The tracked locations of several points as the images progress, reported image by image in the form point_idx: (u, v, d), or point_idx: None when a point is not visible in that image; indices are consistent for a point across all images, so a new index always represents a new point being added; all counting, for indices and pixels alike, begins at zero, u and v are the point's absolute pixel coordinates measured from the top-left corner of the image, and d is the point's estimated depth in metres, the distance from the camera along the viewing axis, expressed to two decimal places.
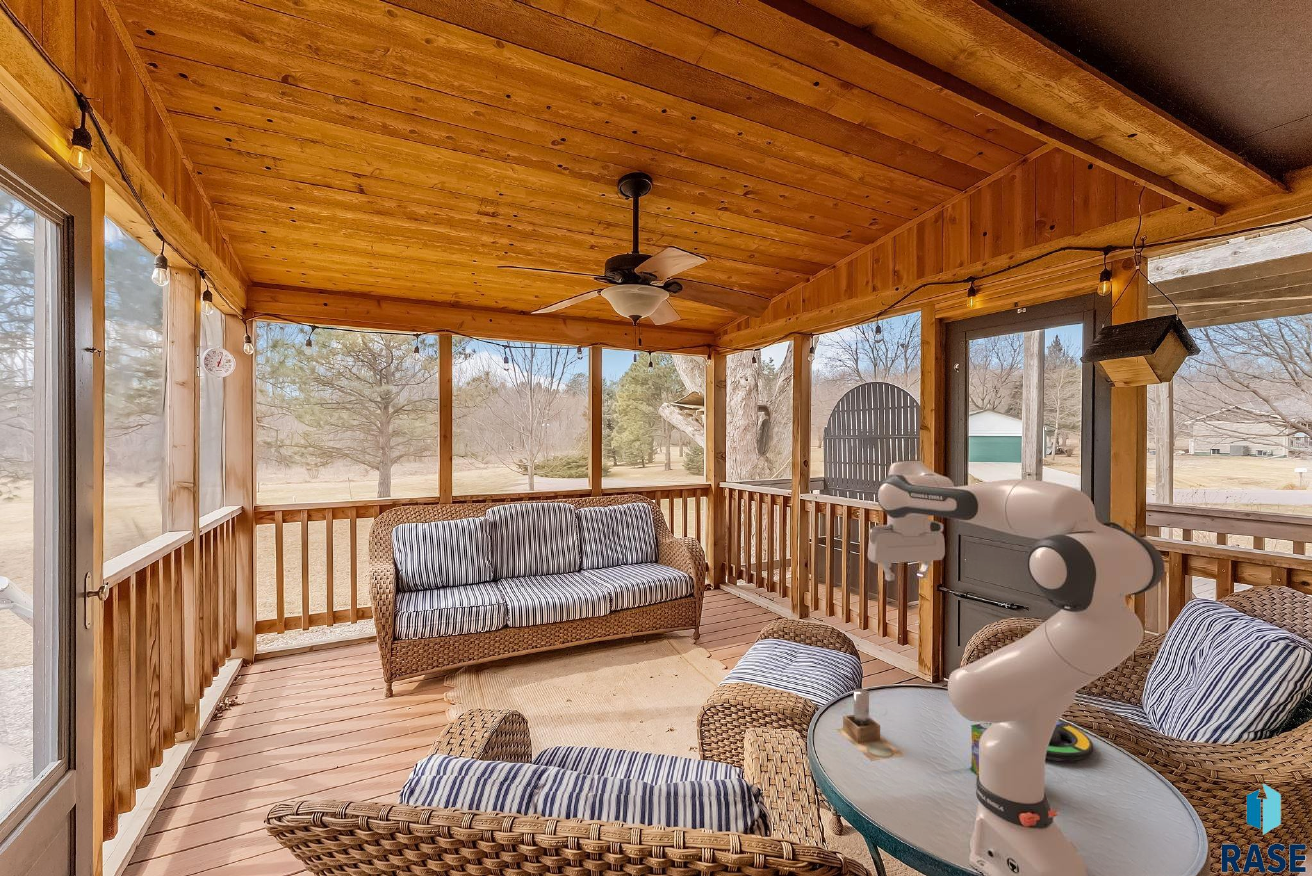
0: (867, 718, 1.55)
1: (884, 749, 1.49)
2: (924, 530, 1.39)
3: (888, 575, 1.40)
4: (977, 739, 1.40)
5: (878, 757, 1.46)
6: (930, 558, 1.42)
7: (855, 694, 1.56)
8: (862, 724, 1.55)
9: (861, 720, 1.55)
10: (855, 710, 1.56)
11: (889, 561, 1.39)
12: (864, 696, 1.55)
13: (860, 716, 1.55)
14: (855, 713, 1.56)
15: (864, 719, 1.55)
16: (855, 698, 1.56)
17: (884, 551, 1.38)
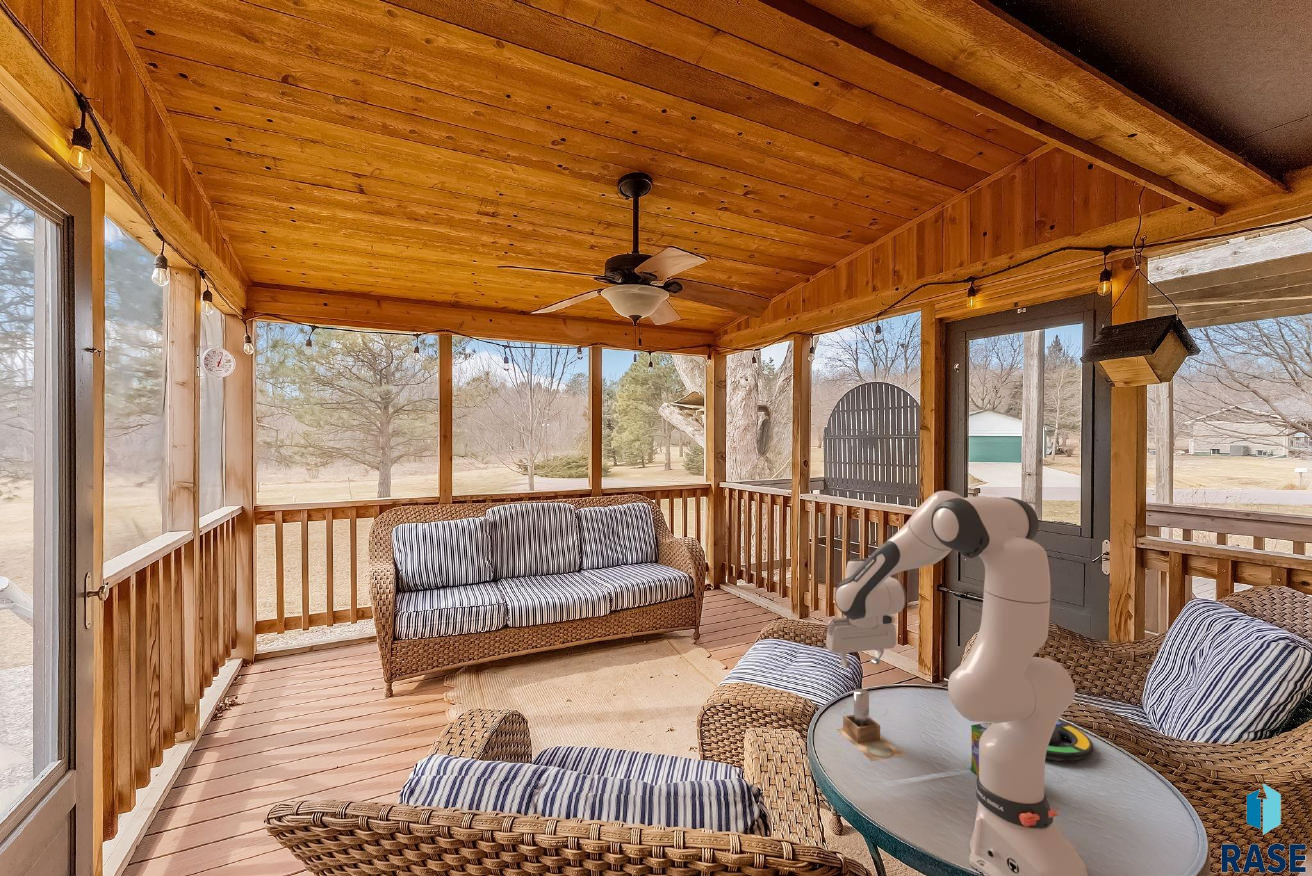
0: (867, 718, 1.55)
1: (884, 749, 1.49)
2: (876, 623, 1.54)
3: (844, 663, 1.55)
4: (977, 739, 1.40)
5: (878, 757, 1.46)
6: (883, 647, 1.57)
7: (855, 694, 1.56)
8: (862, 724, 1.55)
9: (861, 720, 1.55)
10: (855, 710, 1.56)
11: (845, 651, 1.54)
12: (864, 696, 1.55)
13: (860, 716, 1.55)
14: (855, 713, 1.56)
15: (864, 719, 1.55)
16: (855, 698, 1.56)
17: (840, 642, 1.53)
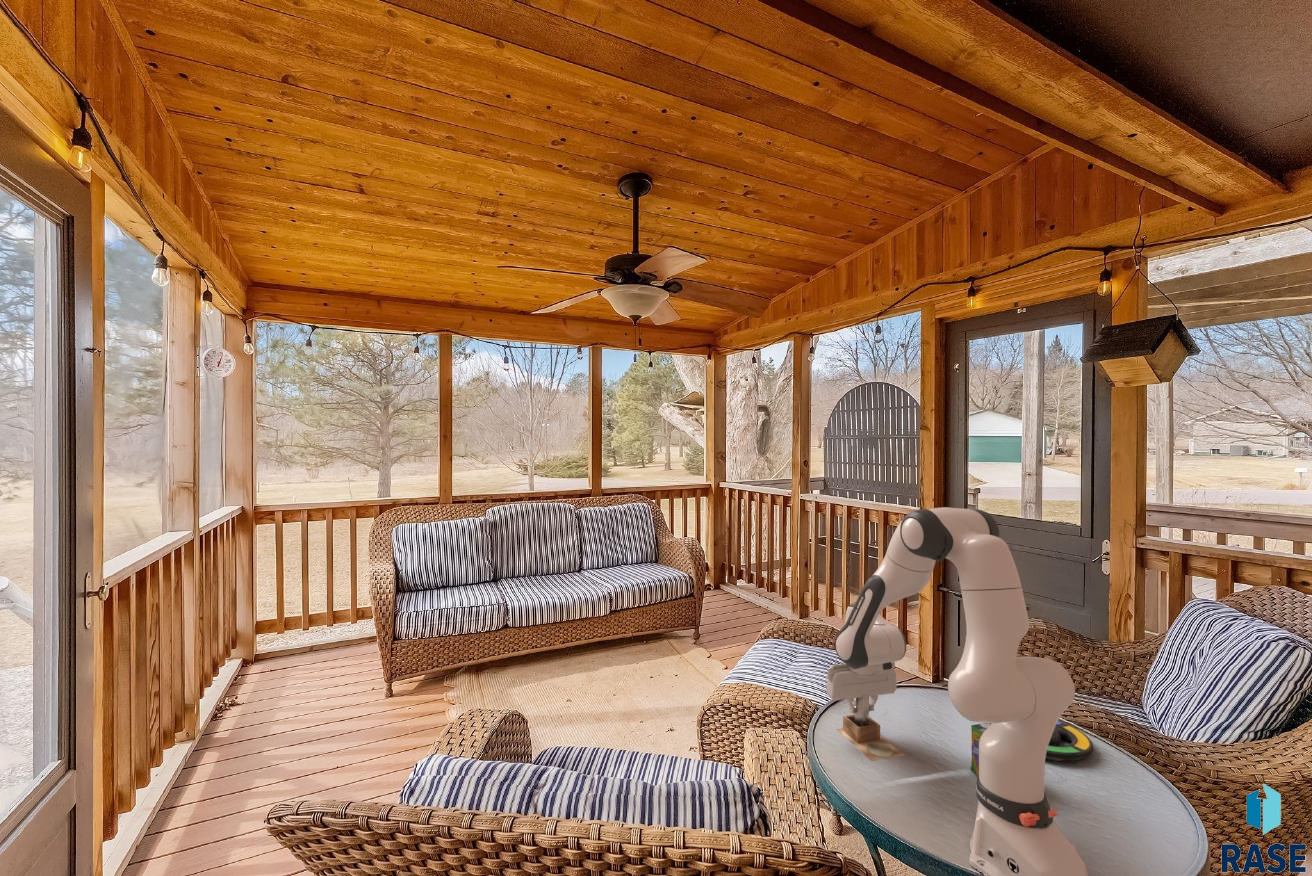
0: (867, 718, 1.55)
1: (884, 749, 1.49)
2: (877, 670, 1.54)
3: (851, 708, 1.55)
4: (977, 739, 1.40)
5: (878, 757, 1.46)
6: (883, 692, 1.56)
7: None
8: (862, 724, 1.55)
9: (861, 720, 1.55)
10: None
11: (845, 698, 1.54)
12: (864, 696, 1.55)
13: (860, 716, 1.55)
14: (855, 713, 1.56)
15: (864, 719, 1.55)
16: (855, 698, 1.56)
17: (840, 688, 1.53)
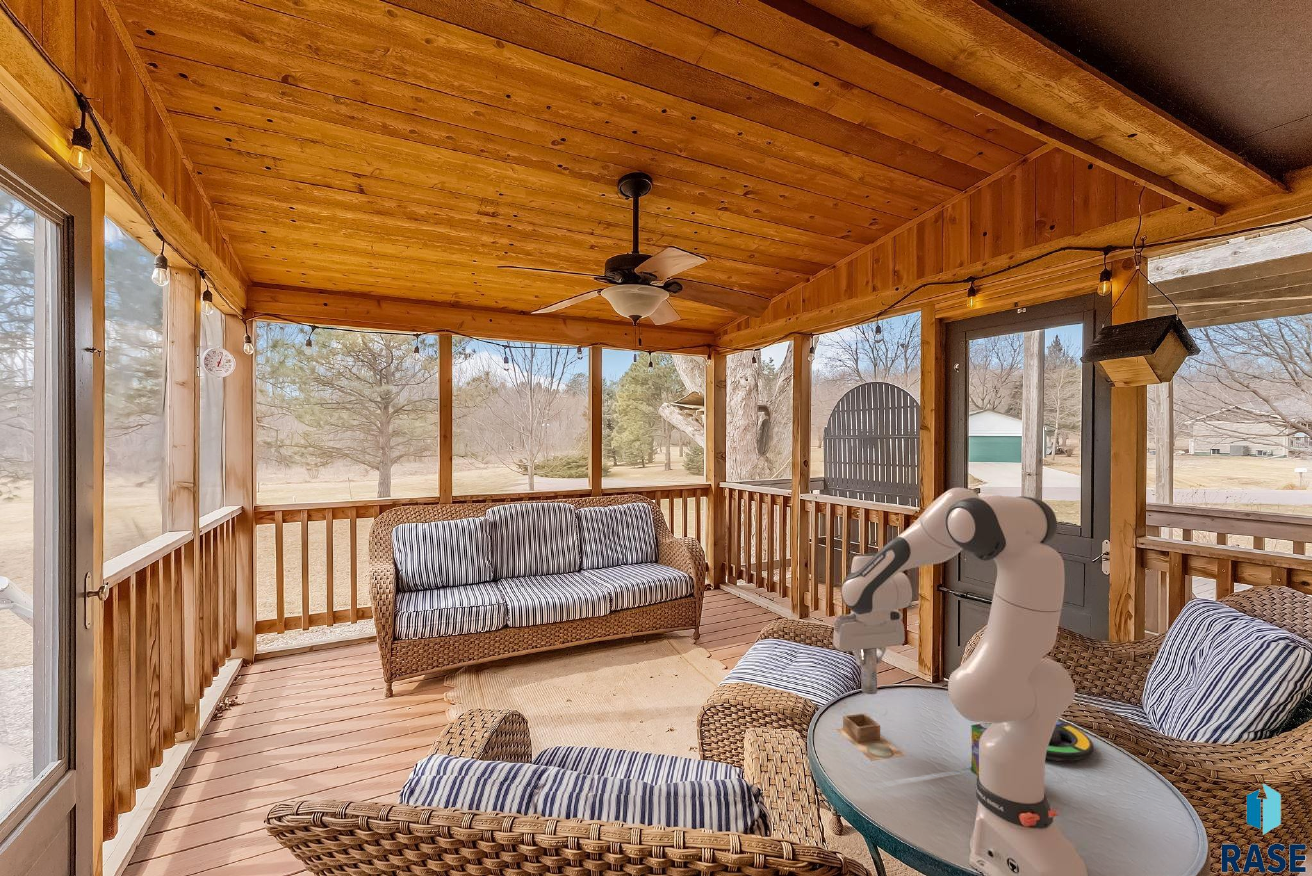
0: (875, 673, 1.52)
1: (884, 749, 1.49)
2: (884, 619, 1.51)
3: (858, 660, 1.52)
4: (977, 739, 1.40)
5: (878, 757, 1.46)
6: (891, 644, 1.53)
7: (862, 649, 1.53)
8: (870, 679, 1.52)
9: (869, 675, 1.52)
10: (863, 665, 1.53)
11: (852, 649, 1.50)
12: (871, 650, 1.52)
13: (867, 670, 1.52)
14: (863, 668, 1.53)
15: (872, 674, 1.52)
16: (862, 653, 1.53)
17: (847, 639, 1.50)
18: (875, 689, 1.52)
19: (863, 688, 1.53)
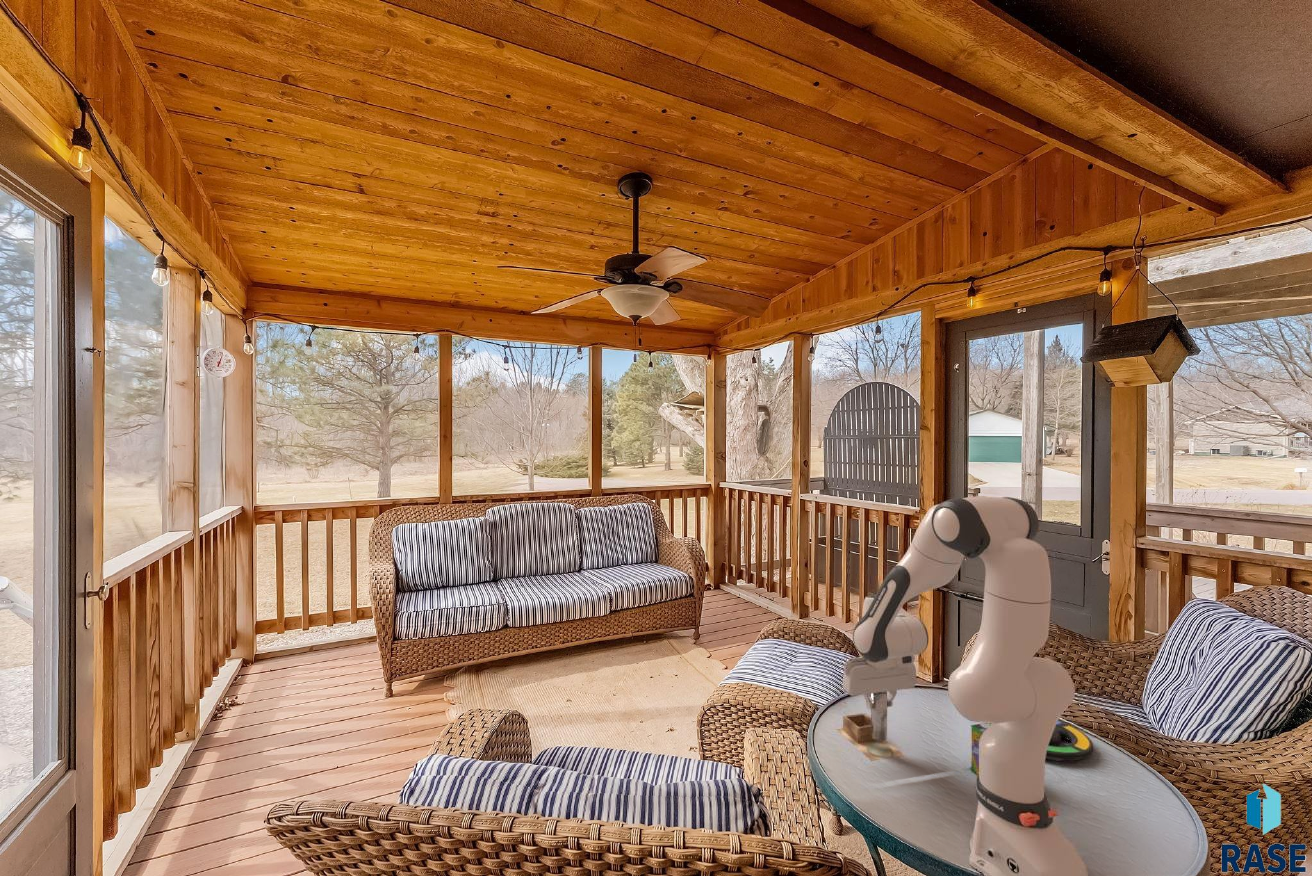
0: (885, 719, 1.48)
1: (884, 749, 1.49)
2: (896, 663, 1.46)
3: (868, 704, 1.48)
4: (977, 739, 1.40)
5: (878, 757, 1.46)
6: (902, 687, 1.49)
7: (873, 694, 1.49)
8: (880, 725, 1.47)
9: (879, 722, 1.47)
10: (872, 711, 1.49)
11: (862, 693, 1.46)
12: (882, 696, 1.47)
13: (878, 717, 1.47)
14: (872, 714, 1.49)
15: (882, 720, 1.47)
16: (873, 698, 1.49)
17: (857, 683, 1.46)
18: (884, 735, 1.47)
19: (872, 734, 1.49)
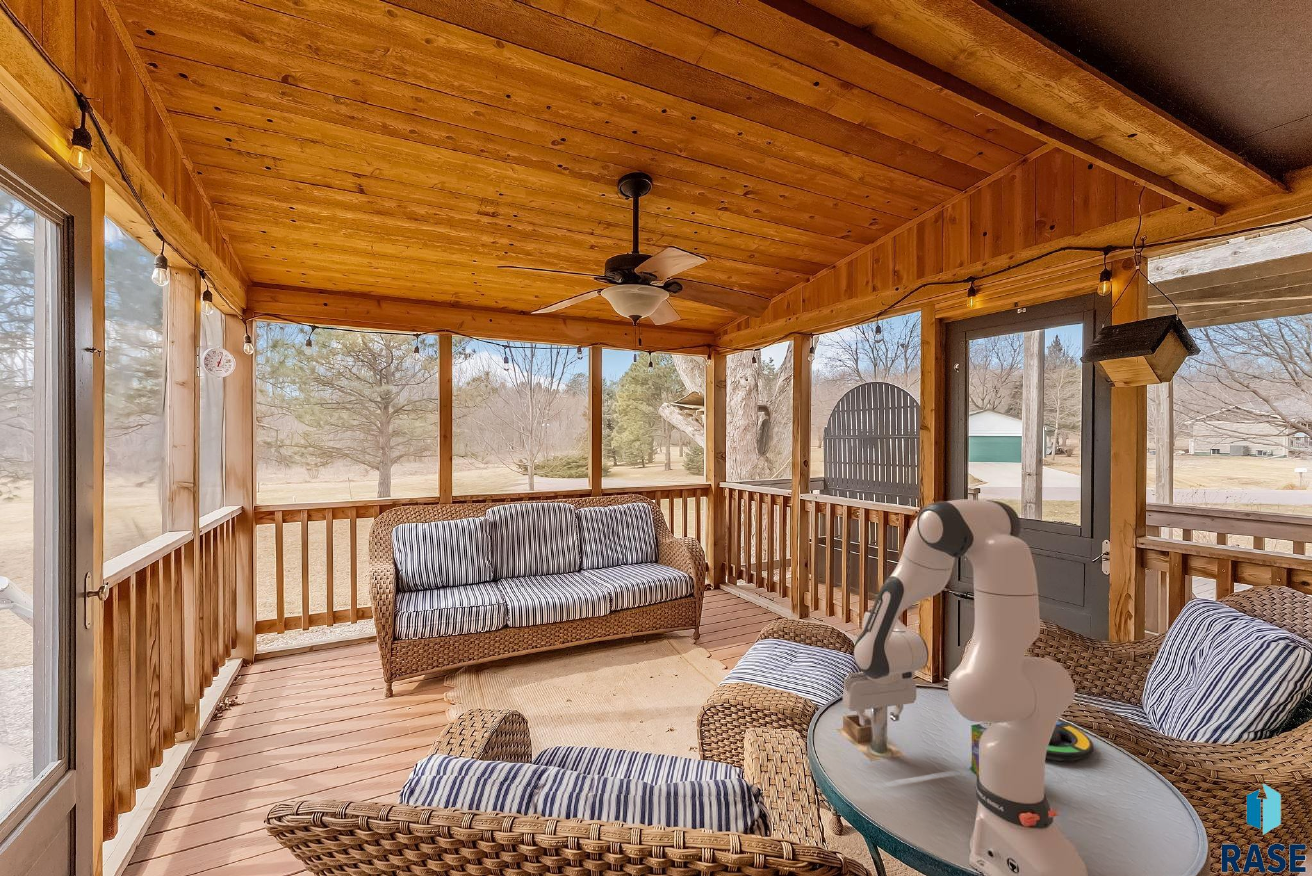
0: (885, 731, 1.48)
1: None
2: (896, 679, 1.46)
3: (862, 720, 1.47)
4: (977, 739, 1.40)
5: (878, 757, 1.46)
6: (902, 702, 1.49)
7: None
8: (880, 738, 1.47)
9: (879, 734, 1.47)
10: (873, 723, 1.49)
11: (863, 708, 1.46)
12: (882, 708, 1.47)
13: (878, 729, 1.47)
14: (873, 726, 1.49)
15: (882, 733, 1.47)
16: (873, 710, 1.49)
17: (857, 699, 1.45)
18: (885, 747, 1.47)
19: (873, 746, 1.48)
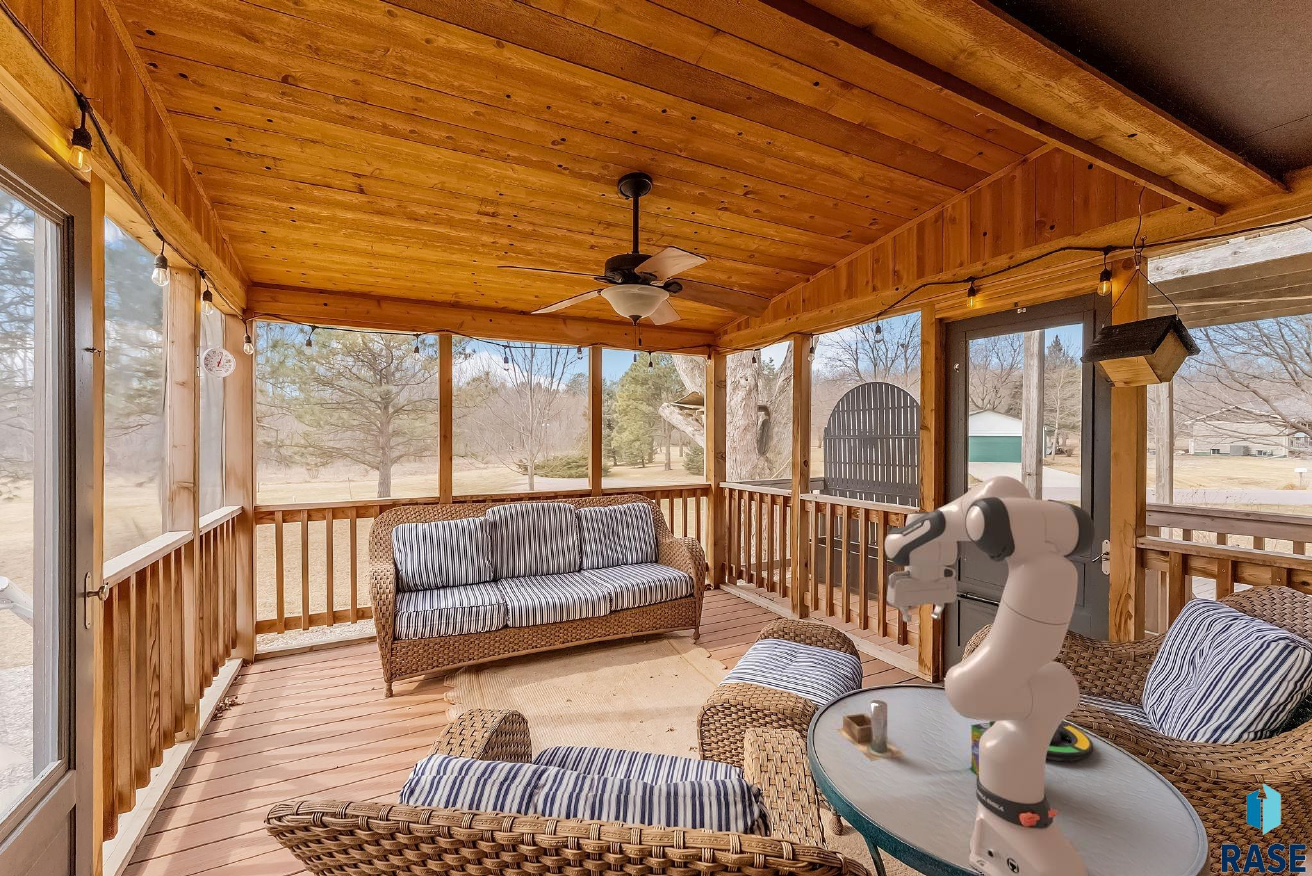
0: (885, 731, 1.48)
1: None
2: (938, 576, 1.53)
3: (905, 617, 1.55)
4: (977, 739, 1.40)
5: (878, 757, 1.46)
6: (943, 601, 1.56)
7: (873, 706, 1.49)
8: (880, 738, 1.47)
9: (879, 734, 1.47)
10: (873, 723, 1.49)
11: (906, 604, 1.53)
12: (882, 708, 1.47)
13: (878, 729, 1.47)
14: (873, 726, 1.49)
15: (882, 733, 1.47)
16: (873, 710, 1.49)
17: (902, 595, 1.53)
18: (885, 747, 1.47)
19: (873, 746, 1.48)
